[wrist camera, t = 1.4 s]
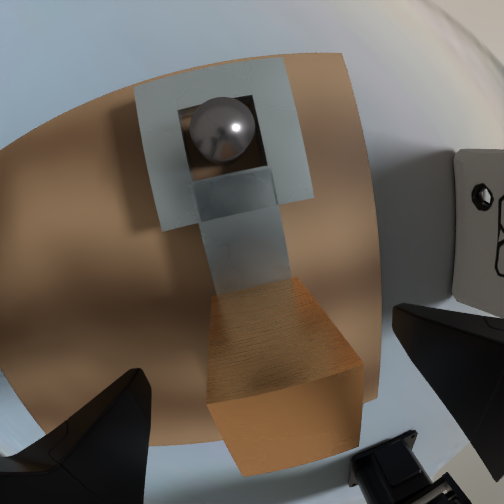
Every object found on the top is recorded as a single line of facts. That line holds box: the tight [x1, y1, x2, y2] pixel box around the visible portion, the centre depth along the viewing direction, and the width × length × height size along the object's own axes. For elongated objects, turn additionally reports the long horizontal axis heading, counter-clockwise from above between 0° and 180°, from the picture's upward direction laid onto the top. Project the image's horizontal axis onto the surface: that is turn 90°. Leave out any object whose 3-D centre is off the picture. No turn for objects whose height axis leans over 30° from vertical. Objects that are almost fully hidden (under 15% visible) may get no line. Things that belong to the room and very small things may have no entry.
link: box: [134, 57, 364, 477], centre depth 8 cm, size 17×5×7 cm, turn 11°
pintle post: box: [190, 97, 255, 165], centre depth 9 cm, size 2×2×3 cm
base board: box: [0, 53, 382, 446], centre depth 12 cm, size 19×24×1 cm
